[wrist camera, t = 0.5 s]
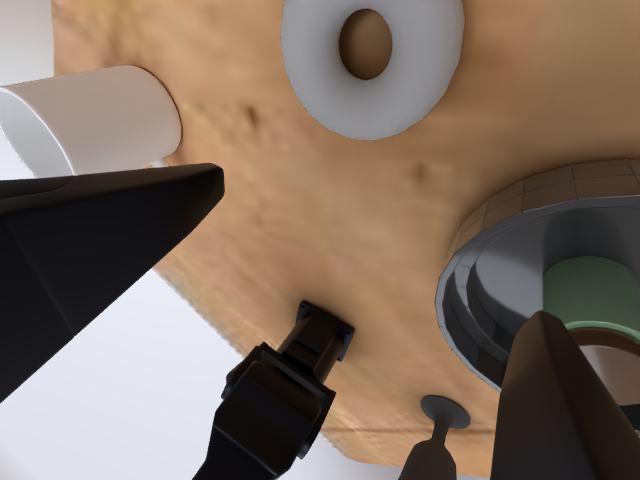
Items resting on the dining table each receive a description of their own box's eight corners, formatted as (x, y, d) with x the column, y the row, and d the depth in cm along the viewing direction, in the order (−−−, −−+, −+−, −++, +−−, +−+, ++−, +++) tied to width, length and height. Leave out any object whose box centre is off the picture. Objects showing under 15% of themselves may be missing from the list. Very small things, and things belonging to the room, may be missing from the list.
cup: (140, 43, 27) (-3, 62, 20) (221, 173, 31) (125, 228, 24) (106, 89, 32) (-16, 117, 25) (179, 195, 36) (90, 245, 29)
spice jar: (600, 326, 21) (618, 422, 16) (525, 292, 22) (521, 373, 17) (662, 279, 18) (706, 381, 13) (571, 243, 19) (582, 324, 14)
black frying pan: (628, 405, 23) (642, 469, 20) (417, 299, 28) (401, 339, 24) (950, 243, 13) (1085, 325, 10) (527, 111, 17) (524, 138, 14)
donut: (438, 146, 20) (505, -79, 14) (424, 168, 18) (496, -92, 11) (299, 113, 24) (301, -81, 17) (272, 128, 21) (261, -91, 15)
